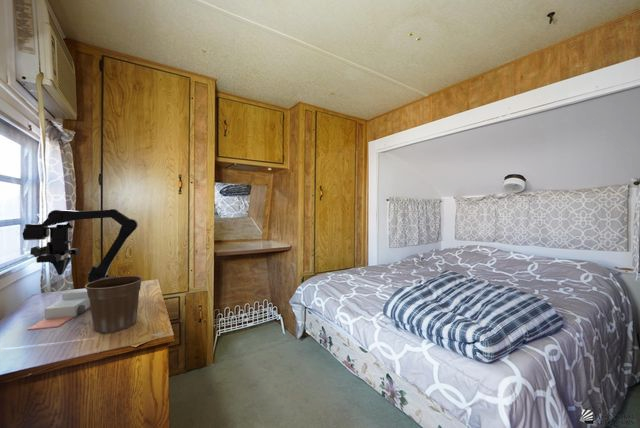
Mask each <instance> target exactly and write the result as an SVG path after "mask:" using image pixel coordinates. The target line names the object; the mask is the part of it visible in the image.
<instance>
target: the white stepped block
mask: <svg viewBox="0 0 640 428" xmlns="http://www.w3.org/2000/svg"><path fill="white" fill-rule="evenodd" d="M61 298H62V299H61V300H59V301H57V302H55V303H53V304H52V305H49V306H48V307H46V308H44V319H52V318H63V317H73V316H74V318H75V317H76V316H78V315H83V314H84V313H85V311H86V310H87V309H89V308H91V307H90V299H89V298H88V294H87V289H86V288H79V289H69V290H66V291H65V292H62V293H61Z"/></svg>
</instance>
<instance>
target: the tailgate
mask: <svg viewBox="0 0 640 428" xmlns="http://www.w3.org/2000/svg"><path fill="white" fill-rule="evenodd" d="M74 318H75V317H74V316H73V317H63V318H52V319H45V318H43V319H42V320H41V321H39V322H37V323H35V324H34V325H32V326H30V327H28V328H27V331H32V330H33V331H34V330H42V329H53V328H59V327H60V326H61V327H62V325H64V324H66V323H67V322H68V321H70V320H71V319H74Z"/></svg>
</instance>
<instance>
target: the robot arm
mask: <svg viewBox="0 0 640 428" xmlns="http://www.w3.org/2000/svg"><path fill="white" fill-rule="evenodd" d="M107 218H111V219H112V220H114V222H116V223H118V224H119V225H121V227H120V229H119V232H118V235H117V236H116V238H115V240H114V241H113V243H112V244H111V246H110V248H109V249H108V250H107V252H106V254H105V256H104V257H103V259H102V260H101V261H100V263H99V264H97V263H95V264H94V265H93V266H92V267H91V270H90V271H89V272H88V273H87V276H88V277H87V281H88V283H90V282H93V281H97V280H99V279H100V278H103V277H109V276H110V275H108V273H109V270H110V268H111V264H112V263H113V262H114V260H115V258H116V257H117V255H118V254H119V252H120V250H121V249H122V247H123V246H124V244H125V242H126V240H127V239H128V238H129V237H130V236H131V235H132V234H133V233H134V231H135V230H136V229H137V228H138V226H139V223H138V221H137V220H136V219H134V218H129V217H128V216H126V215H125V214H123V213H121V212H120V211H119V210H117V209H116V208H112V209H103V210H102V209H101V210H83V211H82V210H80V211H79V210H70V209H69V210H68V209H67V210H66V209H54V210H51V211H50V212H49V213H48V215H47V218H46V219H45V220H44V221H43V222H42V223H25V225H24V229H23V232H22V238H23V240H24V241H37V240H38V241H39V240H40V241H42V240H43V241H44V240H46V239H47V238H49V241H48V242H47V243H46V245H45V246H41V247H40V246H37V245H36V246H33V247H31V248H30V252H29V253H30V255H31V256H33V257H34V258H36V259H35V260H36V263H37V264H39V263H49V264H52V265H53V267H54V269H55V271H56V273H57V275H58V276H63V274H64V273H65V271H66V269H67V268H68V266H69V264H70V262H71V261H72V259H74V256H72V255H75V256H79V255H81V250H80V249H79V248H78V247H77V248H70V244H71V243H72V240H70V236H69V235H70V233H69V231H70V230H69V229H74V228H76V227H75V225H73V224H72V223H71V222H74V221H78V220H91V219H92V220H93V219H107ZM63 223H64V224H63ZM65 223H66V224H65ZM55 225H56V226H55ZM70 255H71V256H70Z"/></svg>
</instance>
